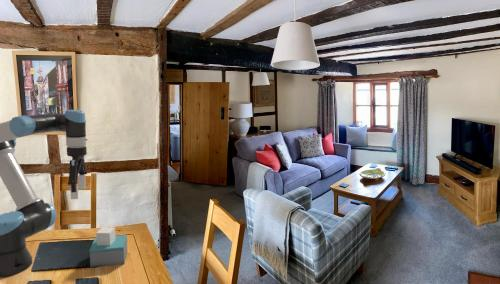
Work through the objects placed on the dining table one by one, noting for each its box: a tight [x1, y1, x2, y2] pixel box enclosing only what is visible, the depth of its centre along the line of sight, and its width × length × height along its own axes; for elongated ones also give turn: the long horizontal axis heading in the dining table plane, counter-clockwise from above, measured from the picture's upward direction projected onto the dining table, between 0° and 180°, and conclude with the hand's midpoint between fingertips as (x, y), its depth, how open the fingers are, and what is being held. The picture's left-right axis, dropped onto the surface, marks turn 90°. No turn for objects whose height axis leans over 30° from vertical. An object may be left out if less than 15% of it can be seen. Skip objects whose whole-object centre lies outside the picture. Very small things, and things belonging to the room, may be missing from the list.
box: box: [89, 238, 128, 268], centre depth 147 cm, size 14×12×7 cm
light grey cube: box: [95, 226, 116, 246], centre depth 146 cm, size 6×6×6 cm
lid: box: [89, 234, 128, 253], centre depth 146 cm, size 14×12×1 cm
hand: (78, 193), depth 140 cm, fingers open, 13 cm apart
